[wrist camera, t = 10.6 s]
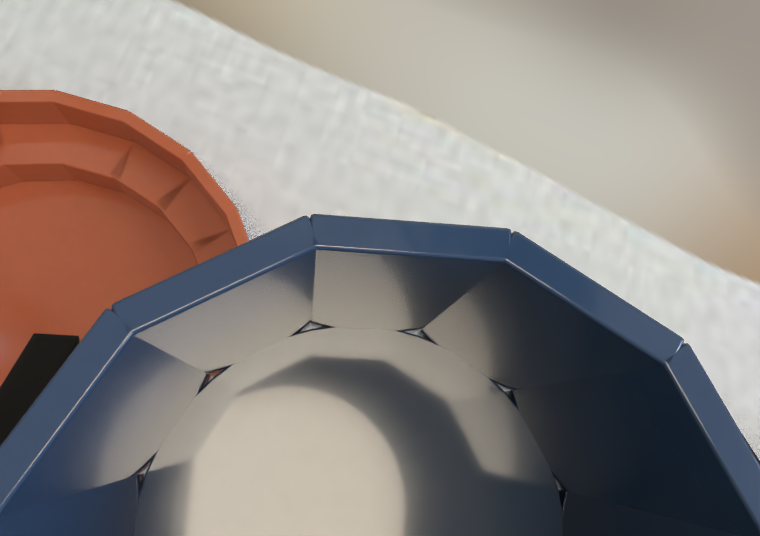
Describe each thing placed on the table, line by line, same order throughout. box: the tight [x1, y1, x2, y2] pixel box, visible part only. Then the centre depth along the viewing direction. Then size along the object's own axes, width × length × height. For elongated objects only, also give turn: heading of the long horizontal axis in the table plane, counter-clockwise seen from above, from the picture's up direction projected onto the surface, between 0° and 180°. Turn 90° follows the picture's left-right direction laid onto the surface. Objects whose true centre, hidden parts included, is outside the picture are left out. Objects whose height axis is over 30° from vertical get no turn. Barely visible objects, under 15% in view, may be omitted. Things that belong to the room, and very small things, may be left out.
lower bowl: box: [0, 90, 249, 387], centre depth 26 cm, size 18×18×4 cm
